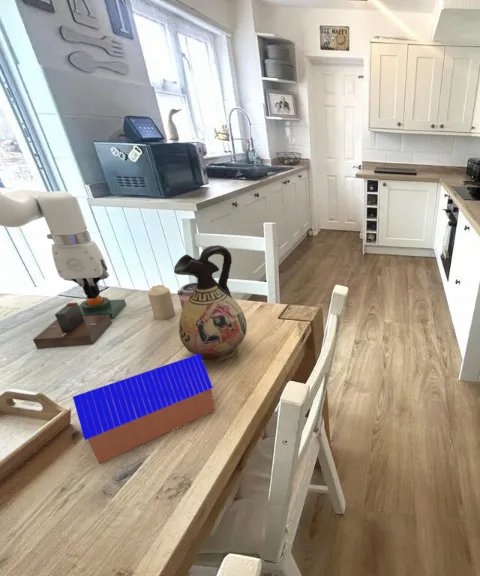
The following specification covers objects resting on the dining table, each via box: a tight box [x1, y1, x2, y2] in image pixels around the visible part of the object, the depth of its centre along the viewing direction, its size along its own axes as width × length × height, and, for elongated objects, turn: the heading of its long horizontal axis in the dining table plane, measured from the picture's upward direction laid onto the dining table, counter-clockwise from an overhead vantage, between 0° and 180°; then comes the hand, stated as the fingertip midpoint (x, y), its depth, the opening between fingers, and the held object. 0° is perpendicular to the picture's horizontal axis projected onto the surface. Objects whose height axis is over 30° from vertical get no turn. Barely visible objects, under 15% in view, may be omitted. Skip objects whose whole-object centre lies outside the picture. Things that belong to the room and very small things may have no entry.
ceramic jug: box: [173, 244, 248, 363], centre depth 81 cm, size 17×15×30 cm
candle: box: [147, 284, 176, 321], centre depth 99 cm, size 6×6×10 cm
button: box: [85, 294, 103, 305], centre depth 98 cm, size 4×4×2 cm
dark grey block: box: [54, 301, 84, 332], centre depth 87 cm, size 6×2×6 cm, turn 14°
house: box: [72, 354, 216, 464], centre depth 64 cm, size 12×20×12 cm, turn 132°
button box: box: [78, 296, 127, 321], centre depth 99 cm, size 11×9×4 cm
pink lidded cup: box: [176, 281, 198, 312], centre depth 97 cm, size 9×8×12 cm
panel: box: [32, 314, 113, 350], centre depth 89 cm, size 12×11×3 cm
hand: (94, 296), depth 97 cm, fingers closed
